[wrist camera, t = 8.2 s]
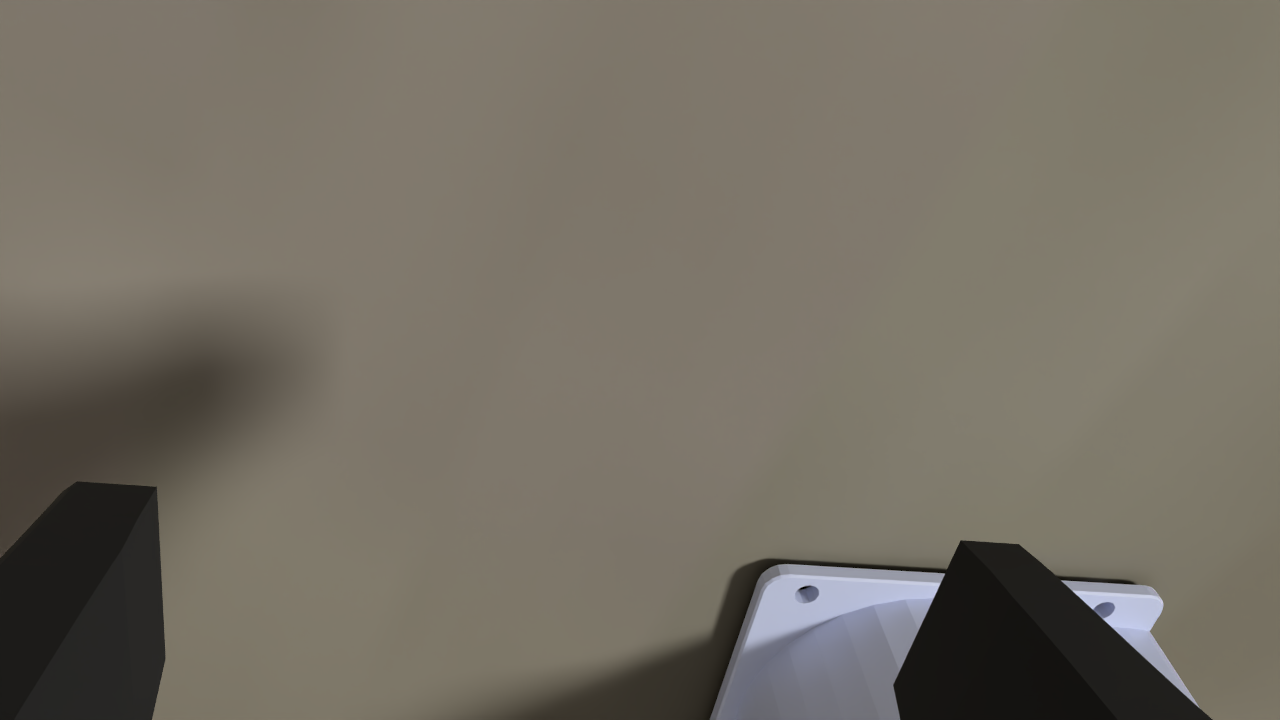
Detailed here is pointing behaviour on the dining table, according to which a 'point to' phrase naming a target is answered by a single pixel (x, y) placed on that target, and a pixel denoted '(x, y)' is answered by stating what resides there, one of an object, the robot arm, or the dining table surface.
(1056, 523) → the dining table surface
